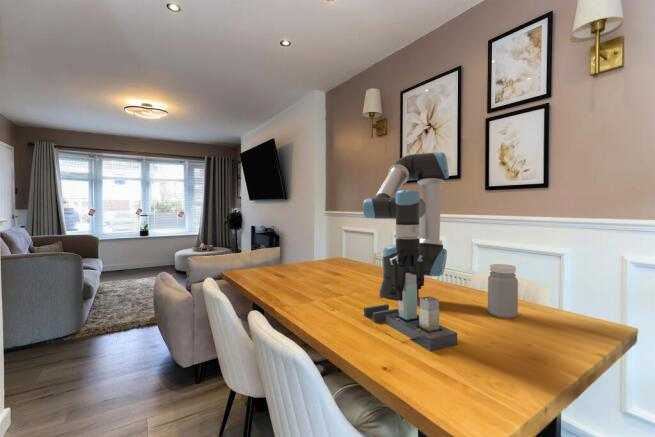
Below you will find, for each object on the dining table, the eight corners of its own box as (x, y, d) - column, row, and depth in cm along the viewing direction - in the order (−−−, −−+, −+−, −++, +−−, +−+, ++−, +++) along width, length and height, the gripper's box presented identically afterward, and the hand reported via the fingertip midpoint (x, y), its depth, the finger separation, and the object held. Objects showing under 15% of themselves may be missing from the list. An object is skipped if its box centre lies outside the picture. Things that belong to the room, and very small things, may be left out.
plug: (408, 314, 107) (408, 272, 107) (416, 317, 103) (416, 274, 103) (399, 316, 105) (398, 273, 105) (406, 319, 102) (406, 276, 101)
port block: (408, 320, 112) (408, 285, 112) (457, 344, 92) (457, 301, 92) (384, 325, 108) (384, 288, 108) (430, 351, 88) (430, 306, 87)
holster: (386, 313, 120) (386, 303, 120) (399, 319, 113) (399, 309, 113) (363, 317, 116) (363, 307, 116) (375, 324, 109) (375, 313, 109)
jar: (520, 314, 117) (521, 265, 116) (514, 321, 110) (514, 269, 109) (492, 308, 124) (492, 262, 123) (483, 315, 117) (484, 266, 116)
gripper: (392, 239, 97) (392, 316, 97) (436, 237, 104) (436, 308, 104) (378, 238, 104) (379, 309, 104) (420, 235, 110) (420, 302, 111)
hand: (407, 309), depth 104 cm, fingers closed on plug, 4 cm apart
